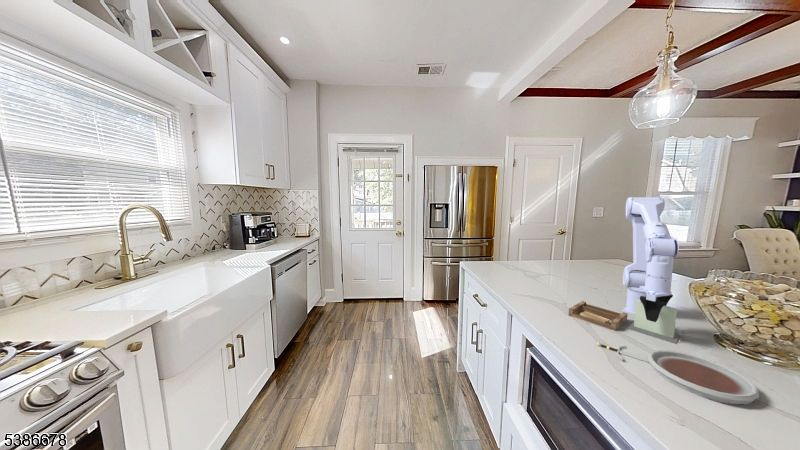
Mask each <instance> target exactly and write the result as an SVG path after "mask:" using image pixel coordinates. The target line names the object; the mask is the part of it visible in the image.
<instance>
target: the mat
mask: <svg viewBox="0 0 800 450" xmlns="http://www.w3.org/2000/svg"><path fill="white" fill-rule="evenodd" d="M626 329H628V330H631V331H634V332H636V333H639V334H642V335H643V334H644V335H646V336H649V337H652V338H656V339H659V340H662V341H666V342H669V343H672V344H674V345H676V344H677V343H678V342H679V340H680V339H681V337H682V334H679V333H677V332H675V333H674V338H671V337H668V336H664V335H661V334H658V333H654V332H651V331H648V330H645V329H641V328H638V327H635V326H634V321H633V322H632V323H631V324H629V325H628V326H627V327H626Z"/></svg>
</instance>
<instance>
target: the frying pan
mask: <svg viewBox="0 0 800 450" xmlns="http://www.w3.org/2000/svg"><path fill="white" fill-rule="evenodd" d="M595 346H597V347H600V348H603V349H606V350H610V351H613V352H615V353H616V356H617V358H619V360H620V361H621V362H624V357H622V355H624V356H627V357H631V358H634V359H636V360H640V361H643V362H645V363H650V365H651V367H652V370H654V372H656V373H657V374H658V375H659V376H660V377H662V378H663V379H664V380H665V381H667V382H668V383H670V384H672V385H675V386H676V387H678V388H680V389H682V390H685V391H686V392H689V393H691V394H694V395H696V396H699V397H702V398H704V399H709V400H712V401H715V402H718V403H722V402H723V404H728V403H729V405H733V404H747V405H749V404H751V403H754V401H755V400H757V399H759V398H760V391H759V390H758V387H756V386H755V385H754V383H753V382H752V381H751V380H749V379H748V378H747V377H745V376H744V375H742V374H740V373H739V372H737V371H735V370H733V369H731V368H730V367H727V366H725V365H722V364H720V363H718V362H715V361H713V360H711V359H707V358H705V357H701V356H698V355H696V354H691V353H686V352H682V351H676V350H670V349H669V350H668V349H657V350H654V351H652V352H650V353H649V355H648V356H647V358H646V357H643V356H640V355H637V354H633V353H631V352H630V353H629V352H627V351H624V350H622V349H627V345H621V346H618V348H613V347H611V346H609V345H605V344H602V343H601V342H600V341H597V342H596V343H595ZM620 354H621V355H620Z"/></svg>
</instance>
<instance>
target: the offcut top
mask: <svg viewBox="0 0 800 450" xmlns="http://www.w3.org/2000/svg"><path fill="white" fill-rule="evenodd" d="M579 315H581V316H584V317H587V318H590V319H594V320H597V321H600V322H603V323H606V324H609V325H610V324H611V321H610V320H609V319H606V318H603V317H600V316H598V315H595V314H592V313H589V312H586V311H584V312H579Z"/></svg>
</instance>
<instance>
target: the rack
mask: <svg viewBox="0 0 800 450" xmlns="http://www.w3.org/2000/svg"><path fill="white" fill-rule="evenodd" d="M584 311H586V312H589V313H592V314H595V315H598V316H600V317H603V318H606V319H609V320H610V323H609V324H606V323H603V322H600V321H597V320H594V319H590V318H587V317H584V316H581V315H580V313H582V312H584ZM568 316H570V317H572V318H576V319H578V320H582V321H585V322H588V323H590V324H593V325H597V326H600V327H602V328H606V329H609V330H611V331H614V332H616V331H617V330H618V329H619V328H620V327H622V326H623V325H624V324H625V323H626V322H627V321H628V312H625V311H622V313H620V312H617V311H613V310H610V309H606V308H602V307H599V306H596V305H593V304H590V303H589V304H588V303H587V302H586V301H584V300H582V301H580V302H578V303H576V304H574V305H573V306H571V307H569V308H568Z"/></svg>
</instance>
